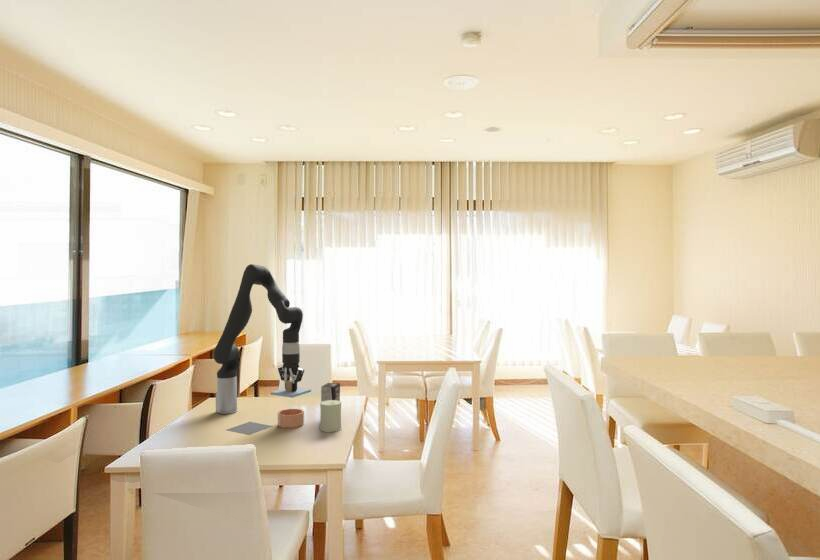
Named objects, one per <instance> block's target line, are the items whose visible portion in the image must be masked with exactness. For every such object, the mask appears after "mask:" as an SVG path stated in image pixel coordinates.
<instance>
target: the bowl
mask: <svg viewBox="0 0 820 560" xmlns="http://www.w3.org/2000/svg"><path fill="white" fill-rule="evenodd" d="M304 423H305V410H304V409H301V408H287V409H285V408H284V409H282V410H279V411H278V412H277V425H278V427H280V428H283V429H297V428H299V427H302V426H303V425H304Z"/></svg>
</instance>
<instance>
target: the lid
mask: <svg viewBox="0 0 820 560" xmlns="http://www.w3.org/2000/svg"><path fill="white" fill-rule="evenodd" d="M311 392H312V389H310V388H303V387H297V390H296V391H294V392H293V391H292V379H290V380H288V381H286V390H285V387H283V388H280V389H277V390H274V391H270V393H269V394H270V395H271V396H272V395H273V396H277V397H286V398H291V399H292V398H296V397H298V396H299V397H300V396H302V395H305V394H308V393H311Z"/></svg>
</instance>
